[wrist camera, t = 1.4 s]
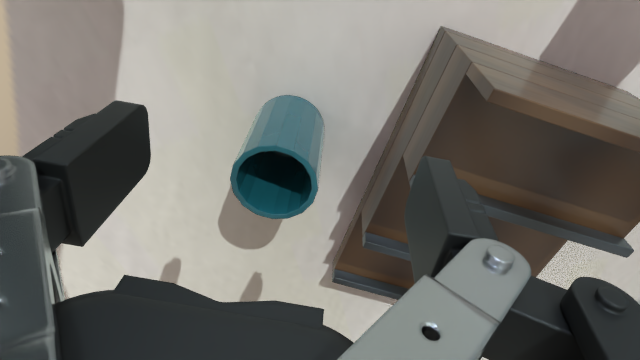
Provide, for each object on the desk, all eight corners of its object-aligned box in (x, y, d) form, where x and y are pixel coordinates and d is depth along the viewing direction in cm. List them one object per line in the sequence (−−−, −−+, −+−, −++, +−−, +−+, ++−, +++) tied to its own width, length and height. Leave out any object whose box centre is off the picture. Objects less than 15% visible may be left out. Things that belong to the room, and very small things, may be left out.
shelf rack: (332, 262, 41) (327, 379, 31) (440, 25, 29) (494, 88, 18) (468, 299, 43) (507, 422, 32) (627, 91, 30) (776, 183, 20)
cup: (249, 146, 35) (223, 205, 27) (264, 85, 32) (239, 134, 25) (312, 165, 35) (303, 228, 28) (333, 107, 32) (328, 161, 25)
